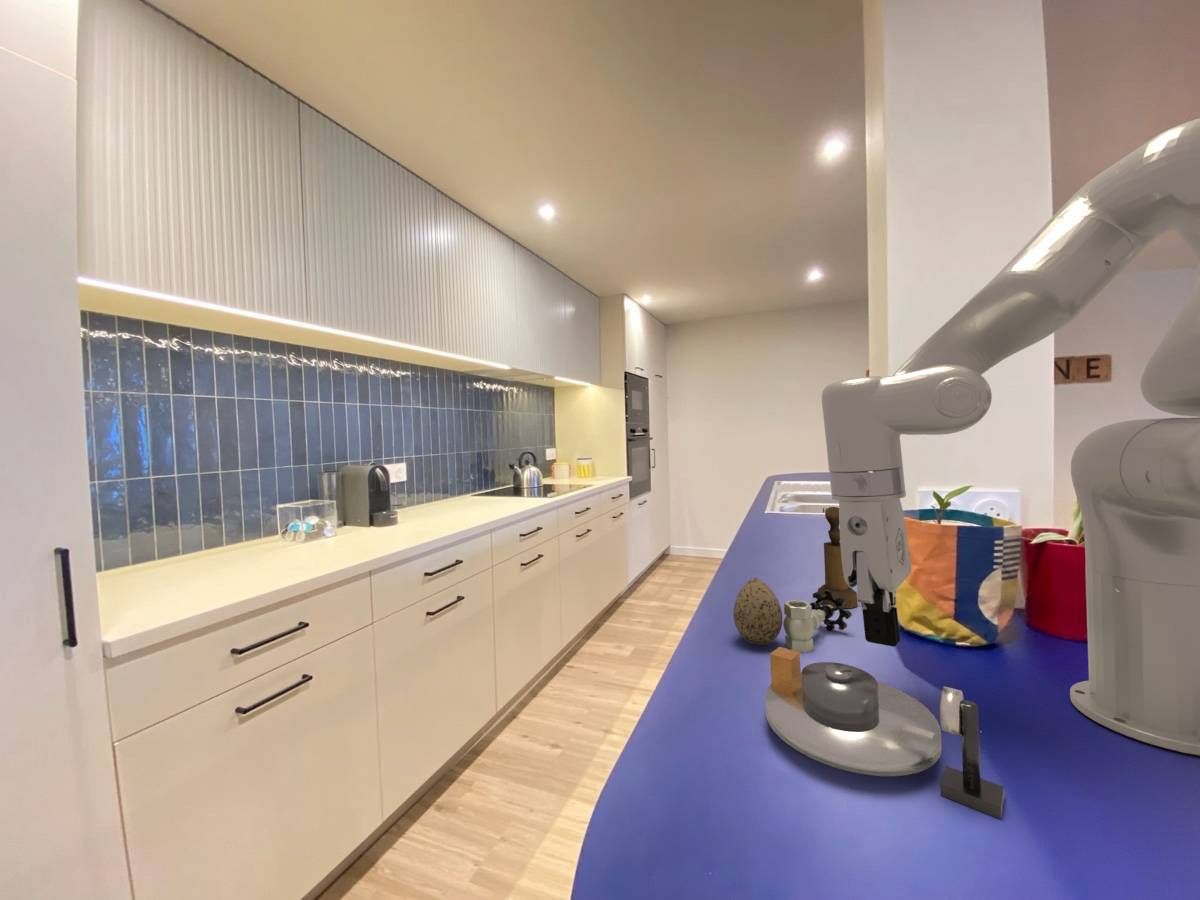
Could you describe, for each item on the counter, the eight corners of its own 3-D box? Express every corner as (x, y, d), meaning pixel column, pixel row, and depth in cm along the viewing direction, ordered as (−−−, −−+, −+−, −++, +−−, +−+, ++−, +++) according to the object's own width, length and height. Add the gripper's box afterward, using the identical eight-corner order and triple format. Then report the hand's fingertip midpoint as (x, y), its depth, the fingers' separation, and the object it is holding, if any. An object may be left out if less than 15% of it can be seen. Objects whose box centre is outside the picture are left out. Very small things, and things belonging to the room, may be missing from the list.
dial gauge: (1004, 796, 40) (1001, 694, 40) (1000, 821, 38) (997, 712, 38) (947, 774, 43) (943, 679, 43) (940, 797, 41) (936, 695, 41)
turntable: (954, 716, 49) (952, 664, 49) (922, 804, 38) (920, 737, 38) (799, 670, 61) (797, 627, 61) (738, 728, 49) (736, 675, 49)
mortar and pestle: (858, 600, 89) (855, 505, 89) (856, 611, 84) (852, 510, 84) (820, 595, 93) (816, 504, 93) (815, 606, 87) (811, 508, 87)
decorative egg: (724, 640, 74) (722, 577, 74) (758, 630, 77) (756, 570, 77) (758, 657, 68) (755, 588, 68) (794, 646, 71) (791, 580, 71)
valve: (813, 659, 67) (852, 635, 74) (811, 613, 67) (851, 593, 74) (771, 645, 72) (812, 624, 79) (769, 602, 72) (810, 585, 79)
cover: (889, 711, 48) (888, 669, 48) (862, 741, 44) (861, 695, 44) (821, 686, 54) (819, 649, 54) (790, 711, 49) (789, 670, 49)
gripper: (886, 493, 47) (905, 676, 47) (918, 476, 58) (933, 626, 58) (809, 494, 52) (826, 659, 52) (851, 478, 63) (866, 615, 63)
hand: (882, 641), depth 55 cm, fingers closed
